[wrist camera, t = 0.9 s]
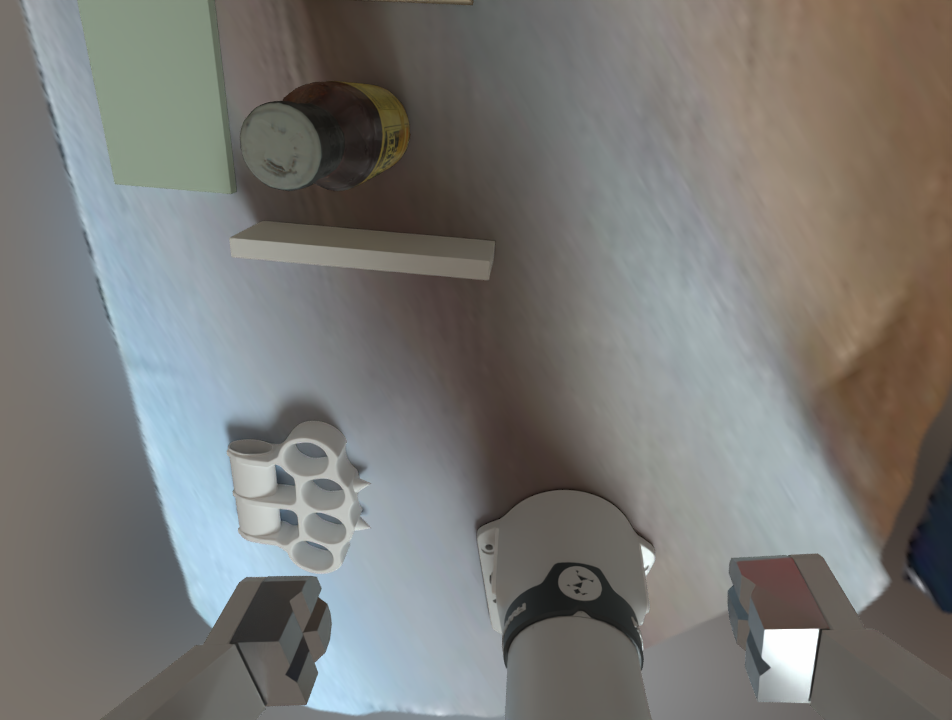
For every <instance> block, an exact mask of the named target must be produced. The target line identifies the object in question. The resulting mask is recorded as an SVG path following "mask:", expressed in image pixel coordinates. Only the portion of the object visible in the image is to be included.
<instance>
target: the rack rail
mask: <svg viewBox="0 0 952 720" xmlns="http://www.w3.org/2000/svg"><path fill="white" fill-rule="evenodd" d="M229 240H230V247H231V255H232V257H236V258H247V259H258V260H269V261H280V262H291V263H302V264H313V265H324V266H335V267H346V268H357V269H368V270H379V271H390V272H401V273H412V274H423V275H434V276H445V277H456V278H467V279H478V280H489V277H490V273H491V268H492V264H493V260H494V250H495V241H490V240H478V239H467V238H455V237H444V236H432V235H421V234H409V233H398V232H386V231H375V230H363V229H352V228H340V227H329V226H317V225H306V224H294V223H283V222H271V221H261V222H259V223H257V224H255V225H253V226H251V227H250V228H248V229H246V230H244V231H242V232H240V233H238V234H236V235H234V236H232V237H230V238H229Z"/></svg>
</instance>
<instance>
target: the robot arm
mask: <svg viewBox="0 0 952 720" xmlns="http://www.w3.org/2000/svg"><path fill="white" fill-rule="evenodd" d="M477 543H478V549H479V555H480V561H481V567H482V573H483V579H484V585H485V591H486V597H487V602H488V608H489V614H490V620H491V625H492V628H493V629H494V630H495V631H497V632H498V633H500V634H502V648H503V656H504V662H505V666H506V668H507V683H506V704H505V720H652V718H651V714H650V710H649V706H648V702H647V697H646V693H645V688H644V684H643V679H642V674H641V670H642V668H643V660H644V659H643V641H642V635H641V631H640V628H639V625H642V624H643V622H644V617H645V614H646V613H648V612H649V608H650V605H649V597H648V589H647V582H646V576H647V574H648V573H649V571H650V569H651V567H652V565H653V564H654V562H655V559H656V556H655V549H654V547H653V546H652V545H651V544H650V543H649V542H647V541H646V540H644V539H643V538H642V537H640V536H639V535H637V534H636V533H635V531H634V530H633V528H632V527H631V525H630V523H629V521H628V520H627V518H626V517H625V516H624V514H623V513H622V512H621V511H620V510H619V509H618V508H617V507H615V506H614V505H613V504H611V503H610V502H608V501H606V500H604V499H602V498H600V497H598V496H595V495H592V494H589V493H585V492H581V491H573V490H556V491H548V492H544V493H540V494H537V495H534V496H531V497H529V498H527V499H525V500H523V501H522V502H520V503H519V504H517V505H516V506H515V507H513V508H512V509H511V510H510V511H509V512H508V513H507V514H506V515H505V516H503V517H502V518H501V519H498V520H496V521H493V522H490V523H488V524H485V525H483V526H482V527H480V528H479V529H478V531H477ZM487 544H490V545H491V546H489V545H487ZM729 575H730V578H731V580H732V583H733V586H732V587H731V588H730V589H729V590H728V611H729V618H730V623H731V626H732V631H733V634H734V637H735V640H736V643H737V644H738V645H739V646H740V647H741V648H742V649H744V650H745V651H746V657H745V668H746V671H747V674H748V676H749V679H750V682H751V685H752V687H753V690H754V693H755V696H756V698H757V701H758V702H794V703H795V702H796V703H810V706H811V707H812V708H813V709H814V710H815V711H816V712H817V713H818V714H819V715H820V716H821V717H822V718H823V719H824V720H952V680H950V679H949V678H947V677H946V676H944V675H943V674H941V673H940V672H938V671H937V670H936V669H934V668H933V667H931V666H930V665H928V664H927V663H925V662H924V661H922V660H921V659H919V658H918V657H916V656H915V655H913V654H912V653H910V652H909V651H907V650H906V649H904V648H903V647H901V646H900V645H898V644H897V643H895V642H894V641H892V640H891V639H890V638H888V637H887V636H885V635H884V634H882V633H881V632H879V631H878V630H876V629H866V628H865V626H864V625H863V623H862V621H861V620H860V618H859V616H858V615H857V613H856V611H855V610H854V608H853V606H852V605H851V603H850V601H849V600H848V598H847V596H846V595H845V593H844V591H843V590H842V588H841V586H840V585H839V583H838V581H837V580H836V578H835V576H834V575H833V573H832V571H831V570H830V568H829V567H828V565H827V563H826V562H825V560H824V558H823V557H822V556H820V555H819V554H799V555H788V556H787V555H778V556H758V557H739V558H731V560H730V563H729ZM321 589H322V588H321V586H320V583H319V581H318V579H317V577H314V576H268V577H246V578H244V579H243V580H242V581H241V582H239V584H238V585H237V587H236V589H235V591H234V592H233V594H232V596H231V597H230V599H229V601H228V603H227V604H226V606H225V608H224V609H223V611H222V613H221V615H220V616H219V618H218V620H217V621H216V623H215V625H214V627H213V628H212V630H211V632H210V633H209V635H208V637H207V639H206V641H205V642H204V644H203V645H196V646H194V647H193V648H192V649H191V650H189V651H188V652H187V653H186V654H184V655H183V656H181V657H180V658H179V659H178V660H176V661H175V662H174V663H172V664H171V665H170V666H169V667H167V668H166V669H165V670H163V671H162V672H161V673H159V674H158V675H157V676H156V677H154V678H153V679H152V680H150V681H149V682H148V683H147V684H145V685H144V686H143V687H141V688H140V689H139V690H137V691H136V692H135V693H134V694H132V695H131V696H130V697H128V698H127V699H126V700H125V701H123V702H122V703H121V704H119V705H118V706H117V707H116V708H114V709H113V710H112V711H110V712H109V713H108V714H107V715H105V716H104V717H103V718H101V719H100V720H257V718H258V717H259V716H260V715H261V714H262V713H263V711H265V710H266V708H265V706H289V705H307V702H308V699H309V697H310V694H311V691H312V688H313V686H314V683H315V680H316V677H317V675H318V671H317V668H316V666H315V662H316V661H317V660H318V659H319V658H320V657H321V656H322V655H323V654H324V653H325V652H326V649H327V646H328V643H329V640H330V634H331V626H332V622H331V614H330V610H329V607H328V604H327V603H325V602H324V601H323V600H321V599H320V598H319V597H318V596H319V594H320V591H321Z"/></svg>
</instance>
